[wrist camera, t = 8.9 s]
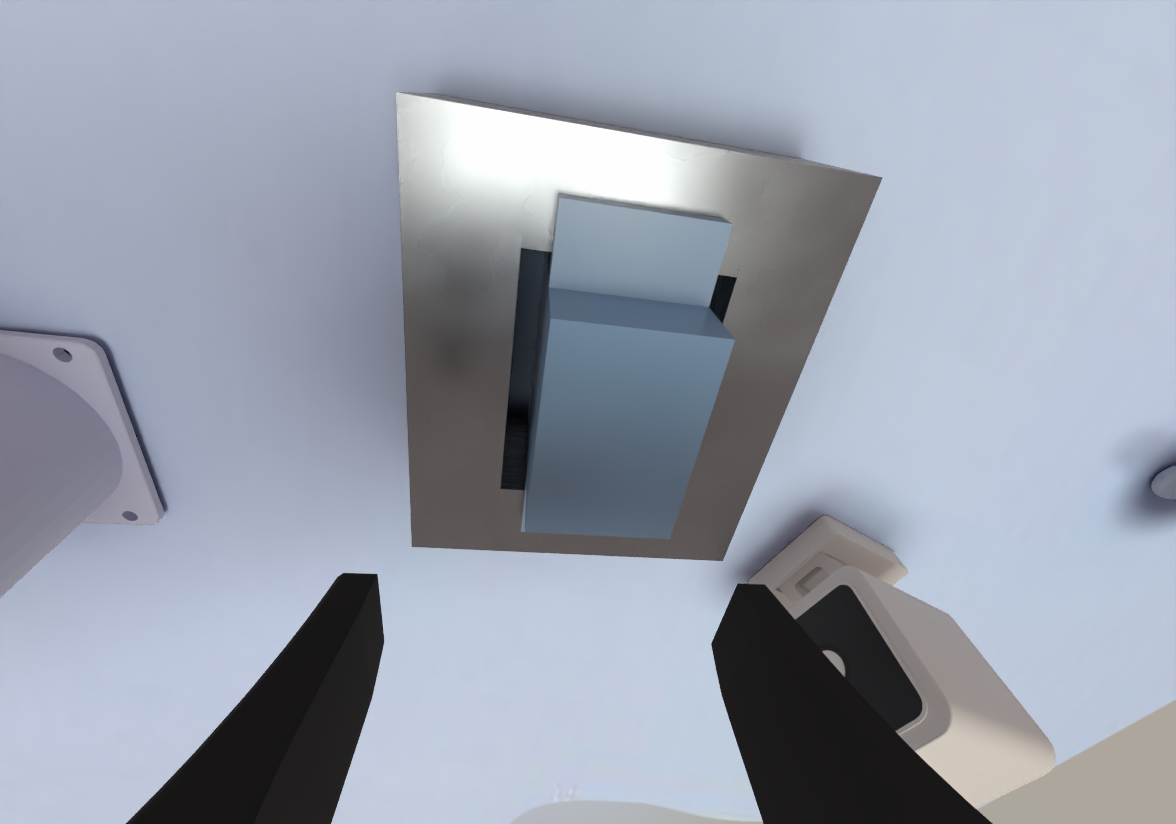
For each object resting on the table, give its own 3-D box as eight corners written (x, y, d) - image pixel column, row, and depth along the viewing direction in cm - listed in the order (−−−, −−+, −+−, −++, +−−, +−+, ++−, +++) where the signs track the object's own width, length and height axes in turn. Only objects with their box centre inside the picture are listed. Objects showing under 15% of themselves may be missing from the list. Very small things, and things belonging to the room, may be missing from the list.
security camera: (808, 495, 23) (963, 723, 15) (902, 546, 26) (1081, 768, 17) (718, 577, 26) (805, 813, 17) (811, 617, 28) (928, 841, 20)
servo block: (524, 441, 20) (518, 582, 14) (553, 170, 15) (563, 215, 9) (621, 448, 21) (654, 587, 15) (680, 190, 16) (766, 245, 10)
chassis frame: (434, 467, 21) (412, 546, 17) (433, 93, 14) (396, 92, 10) (692, 485, 22) (722, 560, 19) (801, 158, 16) (882, 177, 12)
